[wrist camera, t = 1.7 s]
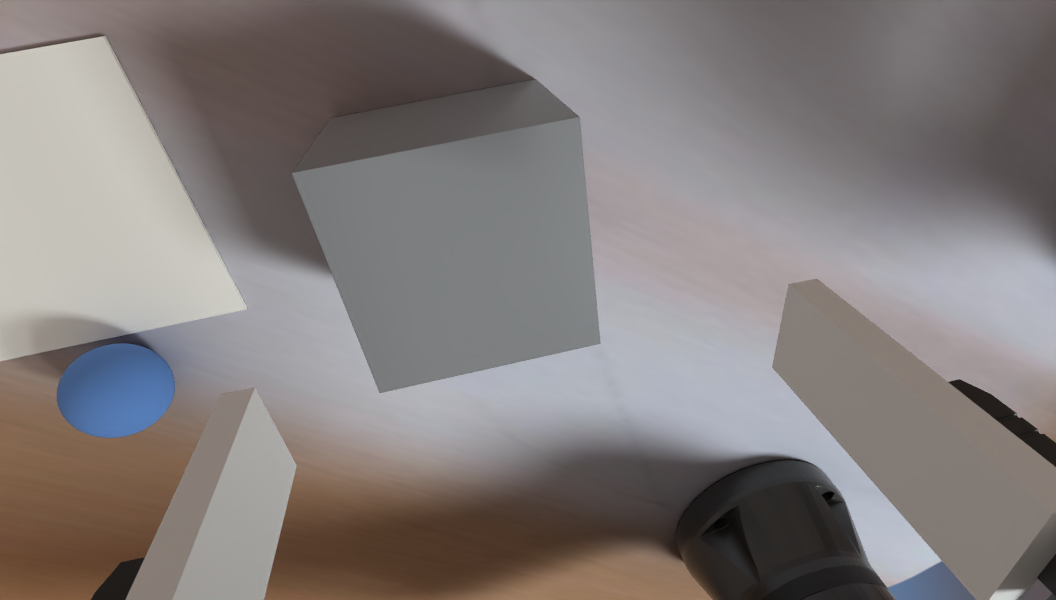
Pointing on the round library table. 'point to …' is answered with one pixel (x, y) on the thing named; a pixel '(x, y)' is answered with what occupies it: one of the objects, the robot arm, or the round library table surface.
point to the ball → (115, 390)
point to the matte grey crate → (456, 231)
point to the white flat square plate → (92, 209)
